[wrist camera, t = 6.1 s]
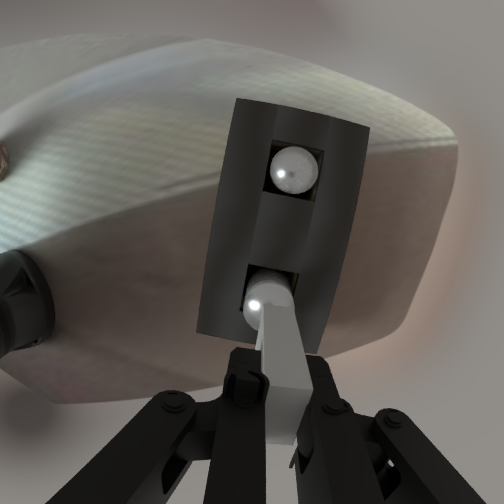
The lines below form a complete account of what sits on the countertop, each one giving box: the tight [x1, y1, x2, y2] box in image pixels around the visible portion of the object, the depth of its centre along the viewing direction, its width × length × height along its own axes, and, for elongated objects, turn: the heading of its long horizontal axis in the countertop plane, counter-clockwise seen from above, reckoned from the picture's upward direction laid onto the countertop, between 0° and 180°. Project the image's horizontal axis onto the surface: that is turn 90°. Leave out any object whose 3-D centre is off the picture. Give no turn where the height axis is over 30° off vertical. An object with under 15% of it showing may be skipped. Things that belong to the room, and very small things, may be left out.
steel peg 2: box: [270, 147, 318, 194], centre depth 27 cm, size 4×4×6 cm
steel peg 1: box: [243, 267, 295, 331], centre depth 26 cm, size 4×4×6 cm
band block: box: [196, 98, 370, 354], centre depth 29 cm, size 12×22×6 cm, turn 169°
